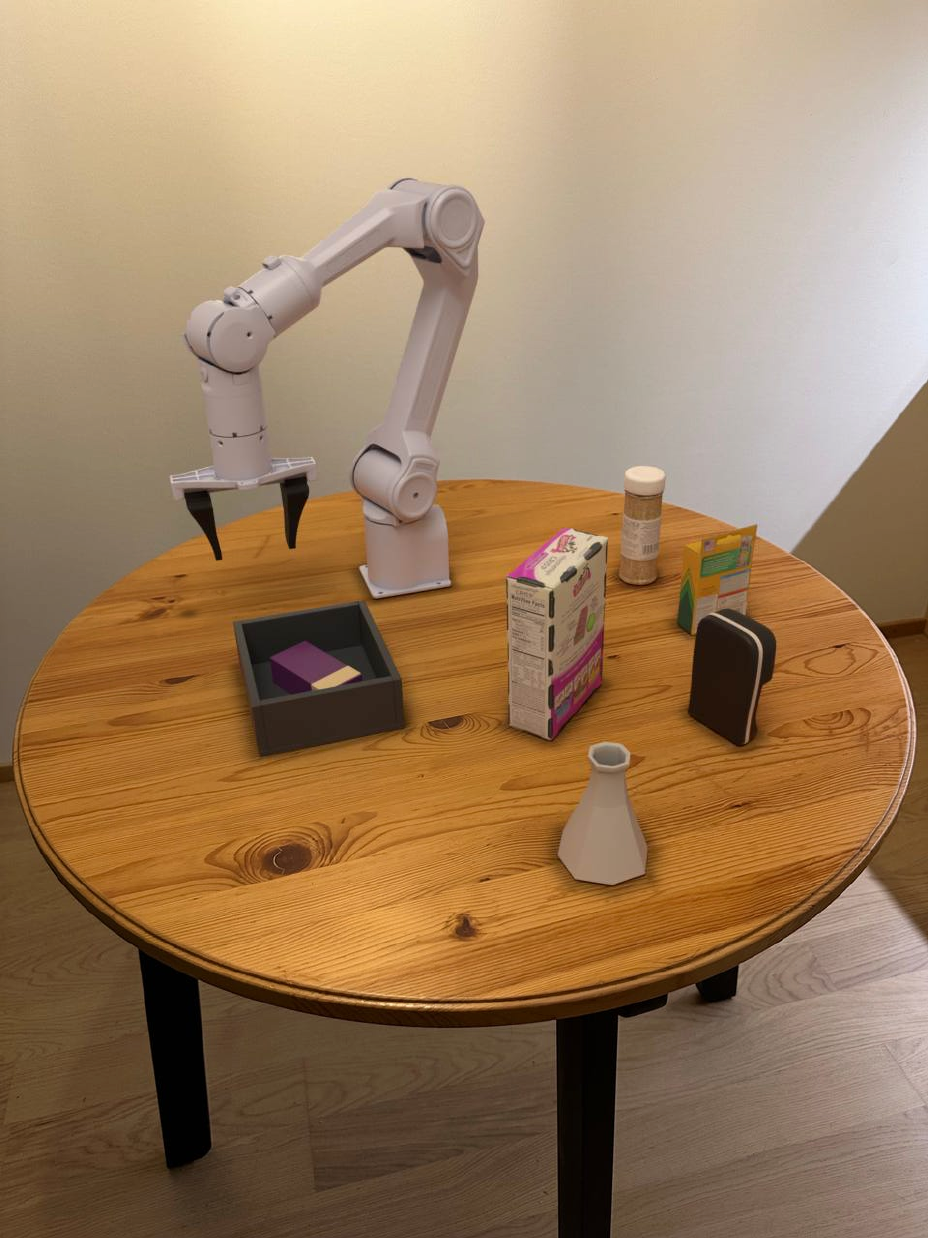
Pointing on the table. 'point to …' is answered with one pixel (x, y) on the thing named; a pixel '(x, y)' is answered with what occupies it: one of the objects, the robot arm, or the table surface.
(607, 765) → the flask
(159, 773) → the table surface
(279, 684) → the chocolate bar
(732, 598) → the crayon box
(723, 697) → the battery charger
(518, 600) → the candy bar box
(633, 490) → the spice jar
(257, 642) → the open storage bin
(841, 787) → the table surface
